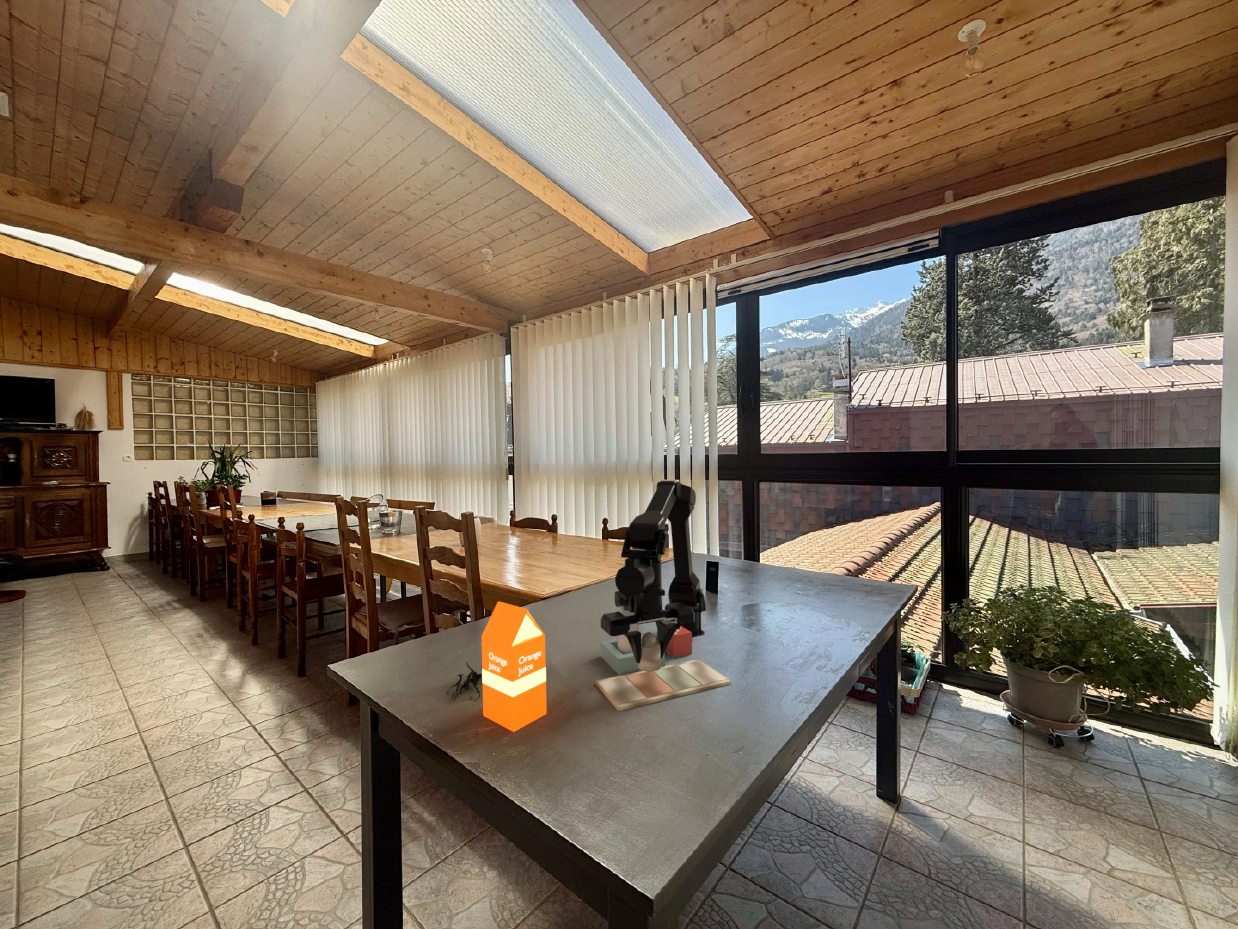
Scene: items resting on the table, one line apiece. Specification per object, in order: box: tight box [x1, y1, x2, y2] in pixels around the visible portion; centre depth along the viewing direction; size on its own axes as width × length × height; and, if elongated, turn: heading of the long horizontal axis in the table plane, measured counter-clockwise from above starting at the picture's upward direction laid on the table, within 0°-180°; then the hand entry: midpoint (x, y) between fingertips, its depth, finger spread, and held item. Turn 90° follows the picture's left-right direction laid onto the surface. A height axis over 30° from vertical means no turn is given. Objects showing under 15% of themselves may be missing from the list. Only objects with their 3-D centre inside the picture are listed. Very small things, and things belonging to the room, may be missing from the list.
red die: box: [665, 626, 693, 658], centre depth 115 cm, size 5×5×5 cm
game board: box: [594, 658, 732, 712], centre depth 99 cm, size 25×12×1 cm, turn 113°
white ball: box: [618, 633, 644, 655], centre depth 111 cm, size 6×6×6 cm
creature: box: [446, 662, 482, 702], centre depth 96 cm, size 8×5×8 cm
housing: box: [599, 633, 666, 676], centre depth 111 cm, size 11×11×4 cm
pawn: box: [638, 631, 662, 672], centre depth 98 cm, size 5×5×7 cm
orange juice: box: [480, 601, 547, 733], centre depth 88 cm, size 8×9×20 cm
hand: (649, 660), depth 98 cm, fingers closed on pawn, 5 cm apart
